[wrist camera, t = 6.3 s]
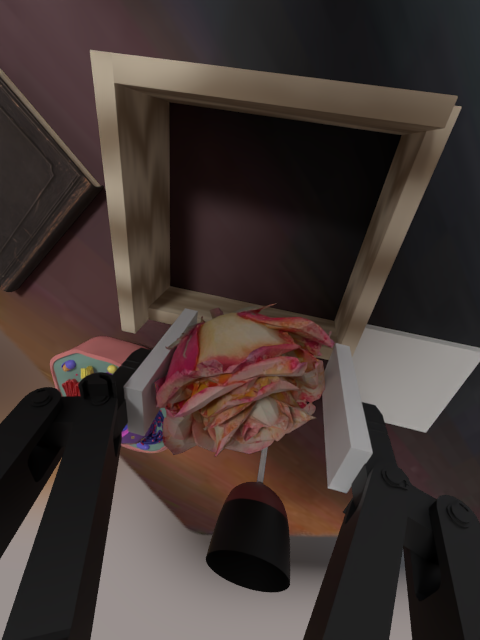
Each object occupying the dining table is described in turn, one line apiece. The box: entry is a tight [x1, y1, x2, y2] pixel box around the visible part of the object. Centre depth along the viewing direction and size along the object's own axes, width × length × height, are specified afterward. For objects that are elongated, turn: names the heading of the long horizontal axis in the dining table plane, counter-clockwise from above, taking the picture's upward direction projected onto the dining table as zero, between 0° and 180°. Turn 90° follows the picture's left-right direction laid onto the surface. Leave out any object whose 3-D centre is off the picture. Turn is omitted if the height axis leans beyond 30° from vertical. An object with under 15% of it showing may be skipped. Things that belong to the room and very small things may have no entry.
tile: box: [352, 324, 480, 432], centre depth 36 cm, size 14×14×1 cm
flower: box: [154, 303, 335, 457], centre depth 14 cm, size 9×9×7 cm
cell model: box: [50, 336, 168, 453], centre depth 41 cm, size 17×20×11 cm
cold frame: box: [90, 50, 462, 360], centre depth 27 cm, size 22×24×9 cm
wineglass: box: [206, 447, 290, 592], centre depth 36 cm, size 8×9×20 cm
